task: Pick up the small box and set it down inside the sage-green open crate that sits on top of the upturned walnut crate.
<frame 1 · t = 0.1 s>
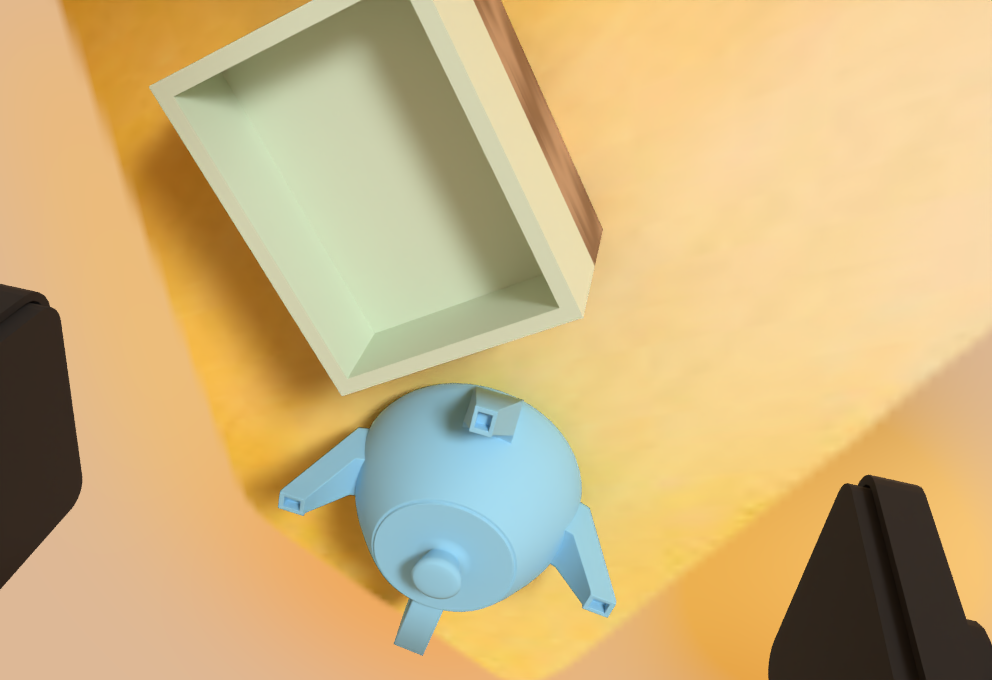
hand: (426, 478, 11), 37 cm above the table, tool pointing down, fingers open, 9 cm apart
teapot: (477, 456, 59), on the table
upper crate: (403, 163, 44), resting on lower crate
lower crate: (426, 134, 48), on the table
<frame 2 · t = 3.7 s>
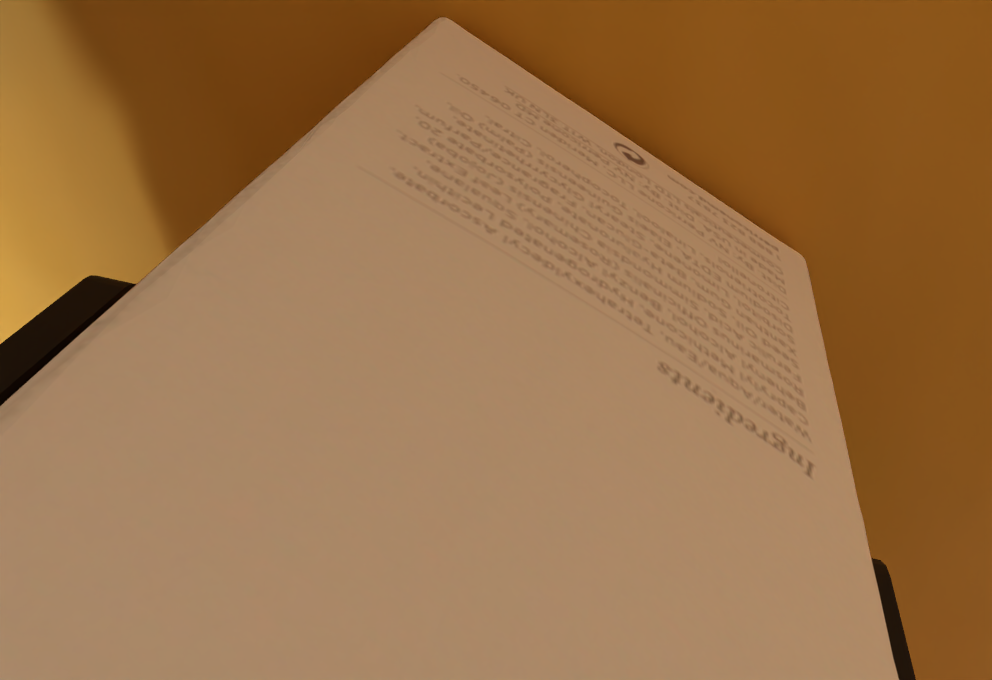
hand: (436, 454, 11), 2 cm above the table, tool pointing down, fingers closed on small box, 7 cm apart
small box: (479, 344, 14), on the table, touching gripper
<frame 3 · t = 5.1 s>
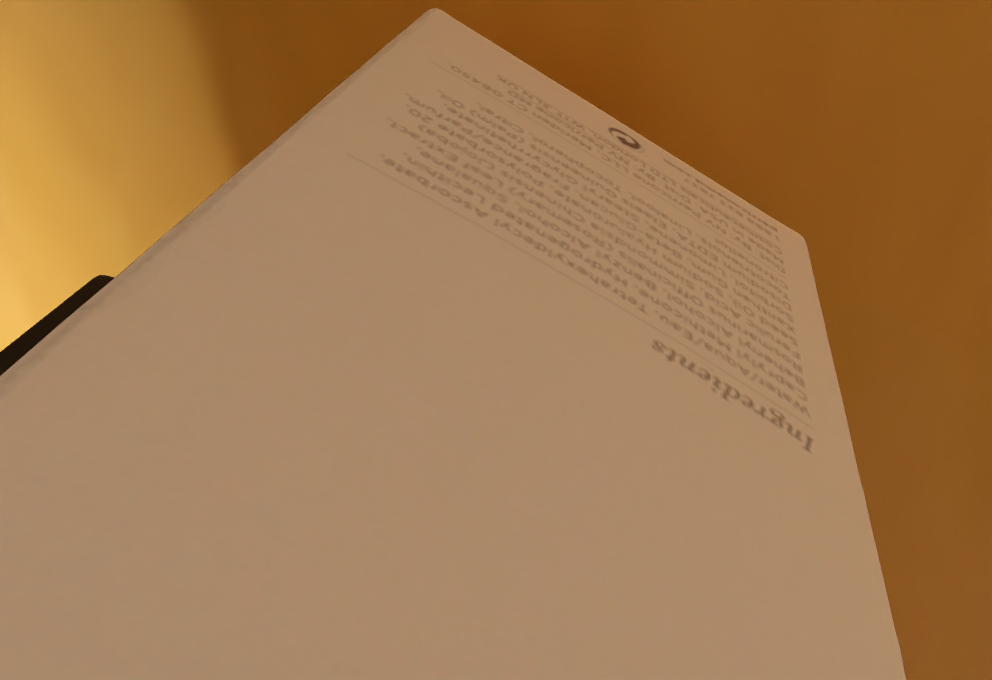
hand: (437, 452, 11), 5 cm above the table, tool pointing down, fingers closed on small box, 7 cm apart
small box: (482, 336, 14), point 2 cm above the table, touching gripper
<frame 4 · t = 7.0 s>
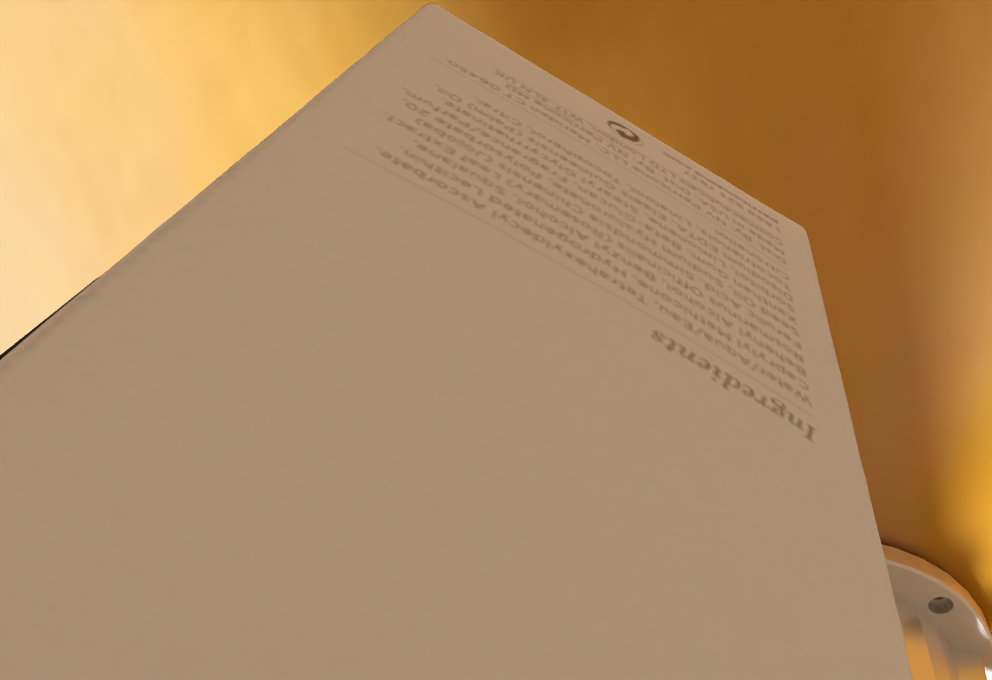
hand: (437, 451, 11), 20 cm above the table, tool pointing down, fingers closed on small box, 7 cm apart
small box: (484, 332, 14), point 17 cm above the table, touching gripper
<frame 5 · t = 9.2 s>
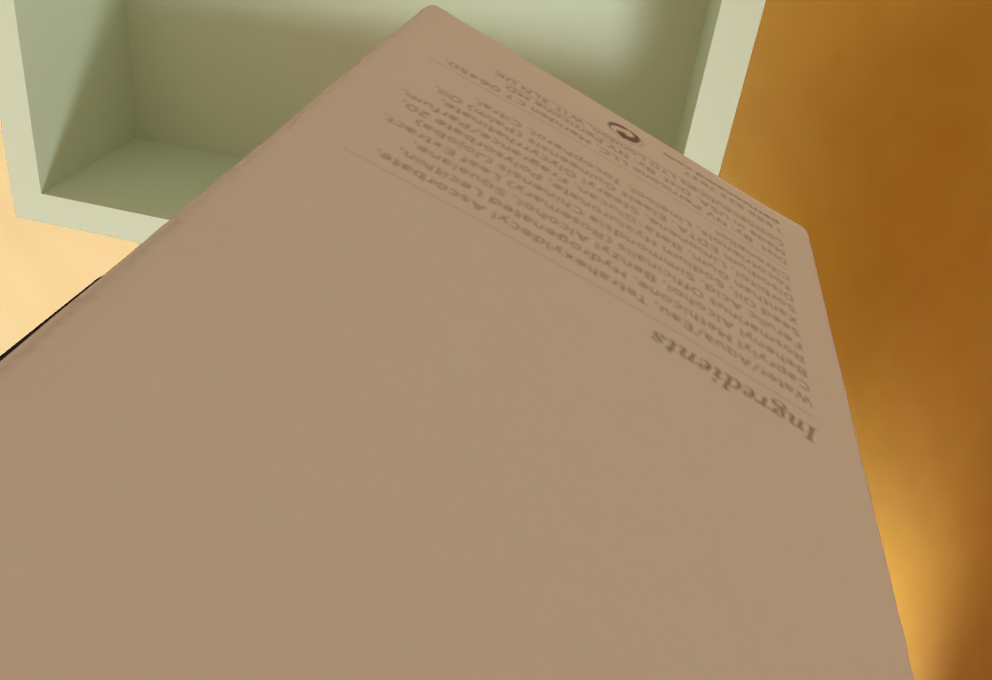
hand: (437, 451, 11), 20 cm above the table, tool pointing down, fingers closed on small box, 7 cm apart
small box: (485, 334, 14), point 17 cm above the table, touching gripper
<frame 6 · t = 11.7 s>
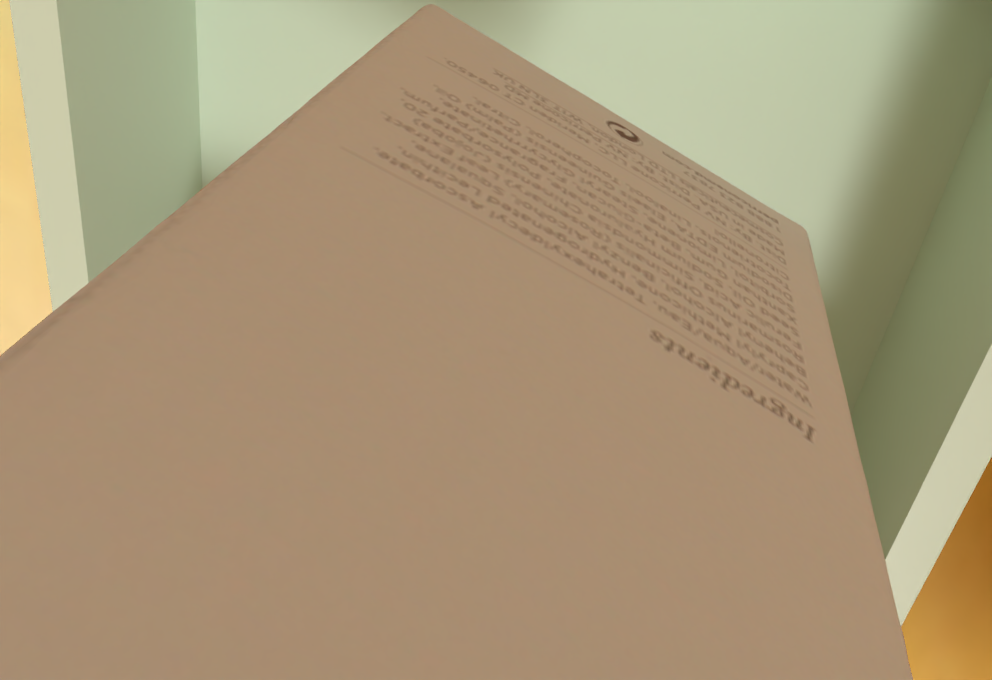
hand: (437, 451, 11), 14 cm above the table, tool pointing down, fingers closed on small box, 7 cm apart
small box: (484, 333, 14), point 11 cm above the table, touching gripper
upper crate: (548, 179, 20), resting on lower crate
when the fingers open (9 cm above the table, at t = 13.8 s): small box drops 1 cm, resting on upper crate.
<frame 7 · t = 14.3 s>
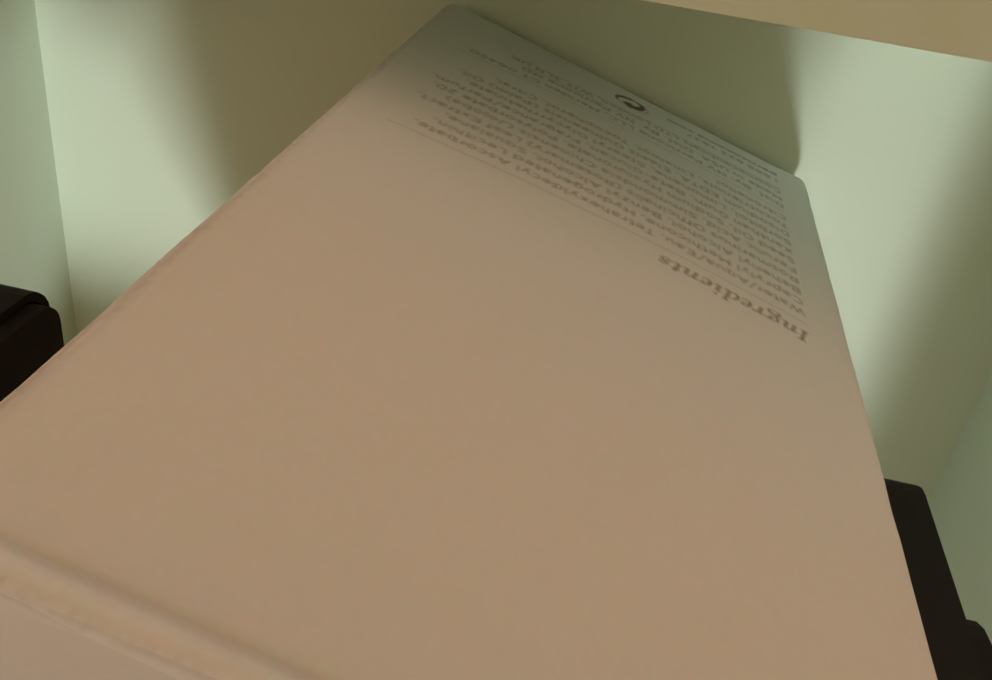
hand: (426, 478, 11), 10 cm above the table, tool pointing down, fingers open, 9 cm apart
small box: (518, 302, 15), point 5 cm above the table, touching upper crate
upper crate: (505, 280, 15), resting on lower crate
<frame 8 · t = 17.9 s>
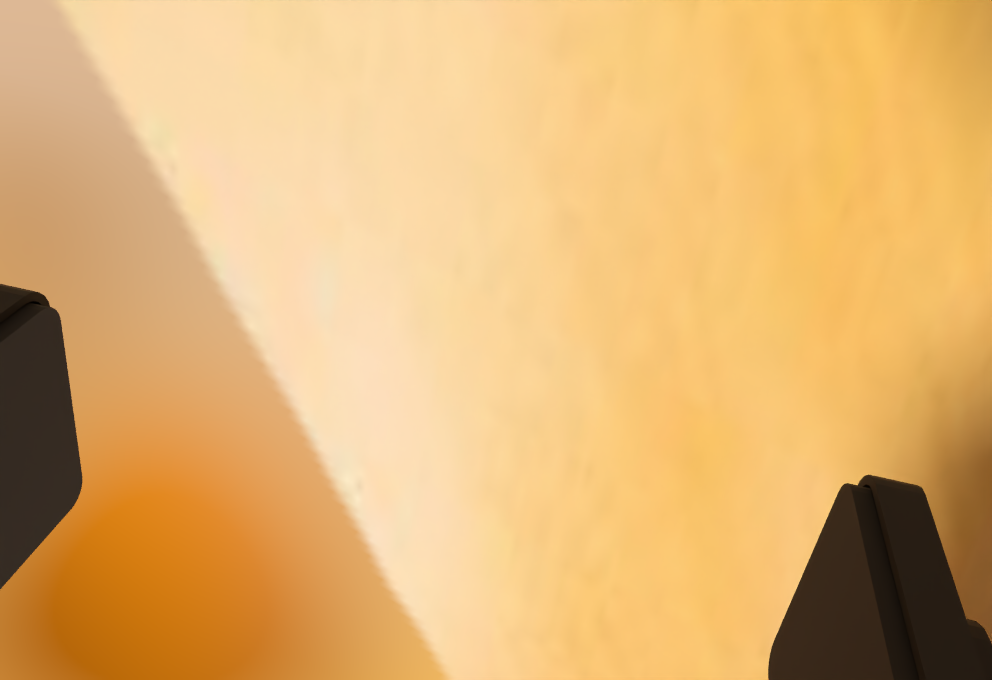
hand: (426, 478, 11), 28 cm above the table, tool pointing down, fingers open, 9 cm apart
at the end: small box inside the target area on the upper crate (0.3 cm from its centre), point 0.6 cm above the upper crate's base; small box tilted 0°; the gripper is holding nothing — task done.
